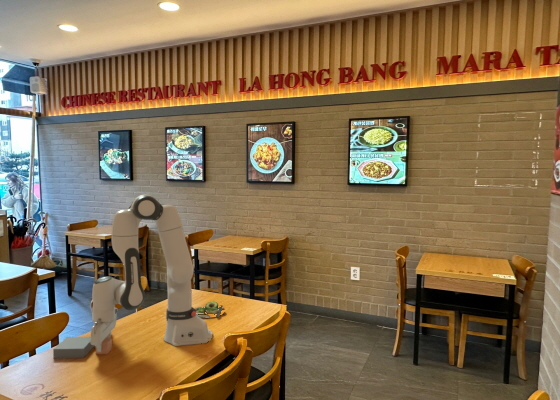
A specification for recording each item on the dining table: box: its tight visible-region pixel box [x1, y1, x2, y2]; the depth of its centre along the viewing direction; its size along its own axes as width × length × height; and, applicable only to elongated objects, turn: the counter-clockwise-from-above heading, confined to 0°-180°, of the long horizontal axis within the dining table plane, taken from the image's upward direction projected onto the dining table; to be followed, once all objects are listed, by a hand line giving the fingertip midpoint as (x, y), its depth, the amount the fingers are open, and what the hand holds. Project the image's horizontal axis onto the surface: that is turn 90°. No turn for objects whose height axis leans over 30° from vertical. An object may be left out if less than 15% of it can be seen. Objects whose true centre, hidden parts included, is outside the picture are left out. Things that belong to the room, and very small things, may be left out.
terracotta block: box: [95, 337, 113, 355], centre depth 167 cm, size 5×5×5 cm
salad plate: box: [195, 301, 224, 318], centre depth 216 cm, size 19×18×5 cm
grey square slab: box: [52, 336, 96, 359], centre depth 166 cm, size 12×12×4 cm
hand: (103, 346), depth 167 cm, fingers open, 8 cm apart
